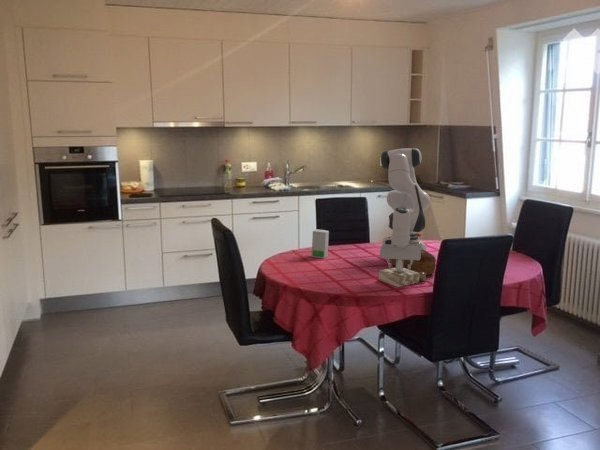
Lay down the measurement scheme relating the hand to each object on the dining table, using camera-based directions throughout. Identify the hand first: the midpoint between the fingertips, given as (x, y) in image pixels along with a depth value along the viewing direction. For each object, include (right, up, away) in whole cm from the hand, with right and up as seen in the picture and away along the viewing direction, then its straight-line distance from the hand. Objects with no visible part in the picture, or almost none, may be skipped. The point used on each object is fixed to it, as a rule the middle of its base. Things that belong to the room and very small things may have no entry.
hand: (399, 267), depth 288 cm
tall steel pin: (0, -7, +1) cm, 7 cm away
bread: (+11, -3, +23) cm, 26 cm away
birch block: (0, -7, +1) cm, 7 cm away
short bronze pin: (+12, -7, +2) cm, 14 cm away
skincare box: (-38, +3, +50) cm, 63 cm away
